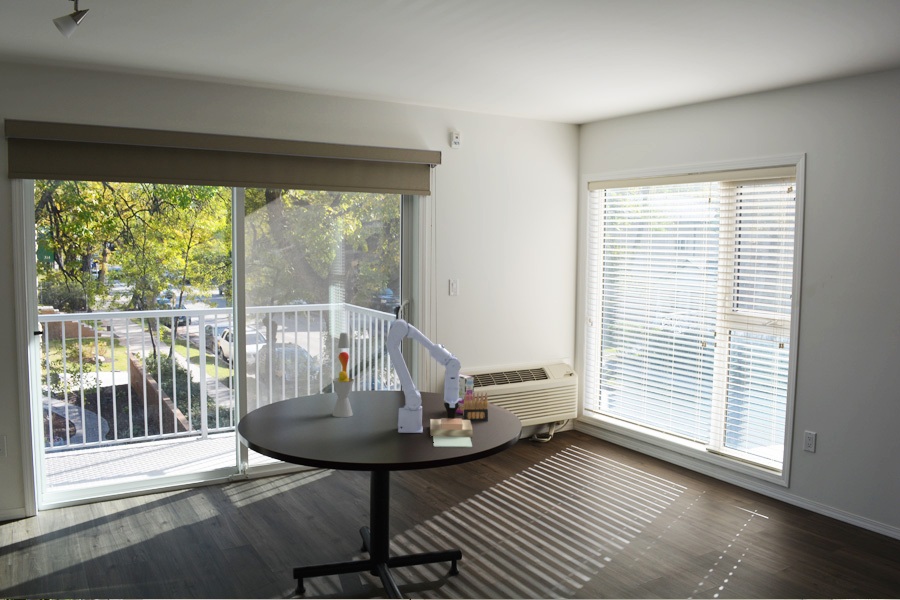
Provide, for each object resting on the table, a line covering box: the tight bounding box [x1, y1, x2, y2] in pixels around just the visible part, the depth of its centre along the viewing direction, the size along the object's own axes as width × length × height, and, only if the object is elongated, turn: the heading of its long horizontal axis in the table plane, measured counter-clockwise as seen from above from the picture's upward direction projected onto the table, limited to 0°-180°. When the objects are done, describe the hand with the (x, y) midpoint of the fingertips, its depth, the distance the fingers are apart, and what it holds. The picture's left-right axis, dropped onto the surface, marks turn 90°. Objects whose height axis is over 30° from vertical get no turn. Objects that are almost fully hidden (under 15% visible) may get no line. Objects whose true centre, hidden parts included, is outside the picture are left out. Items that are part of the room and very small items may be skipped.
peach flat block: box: [440, 417, 463, 430], centre depth 248 cm, size 8×8×2 cm
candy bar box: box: [456, 372, 475, 415], centre depth 282 cm, size 11×5×16 cm, turn 37°
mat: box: [432, 436, 473, 448], centre depth 238 cm, size 14×12×1 cm
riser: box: [429, 418, 474, 438], centre depth 251 cm, size 16×14×3 cm
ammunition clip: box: [461, 392, 489, 422], centre depth 268 cm, size 11×2×12 cm, turn 101°
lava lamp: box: [332, 332, 355, 418], centre depth 271 cm, size 9×9×35 cm
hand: (450, 421), depth 253 cm, fingers closed
